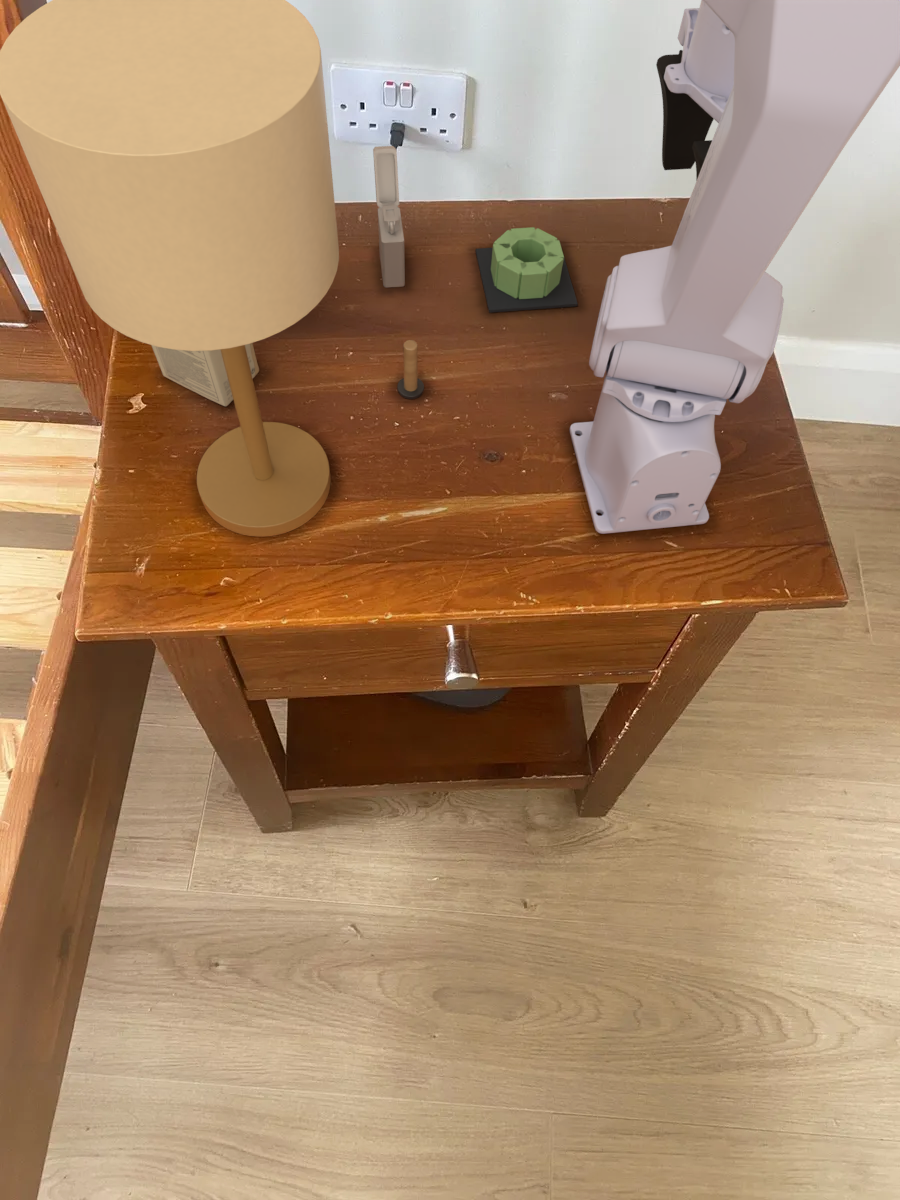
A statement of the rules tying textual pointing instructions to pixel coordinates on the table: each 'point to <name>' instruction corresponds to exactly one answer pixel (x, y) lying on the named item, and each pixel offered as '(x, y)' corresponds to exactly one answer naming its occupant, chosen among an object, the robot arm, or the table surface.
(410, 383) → the peg
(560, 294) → the coaster
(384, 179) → the lighter
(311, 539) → the table surface
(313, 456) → the lamp
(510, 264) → the ring
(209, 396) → the cosmetic box
